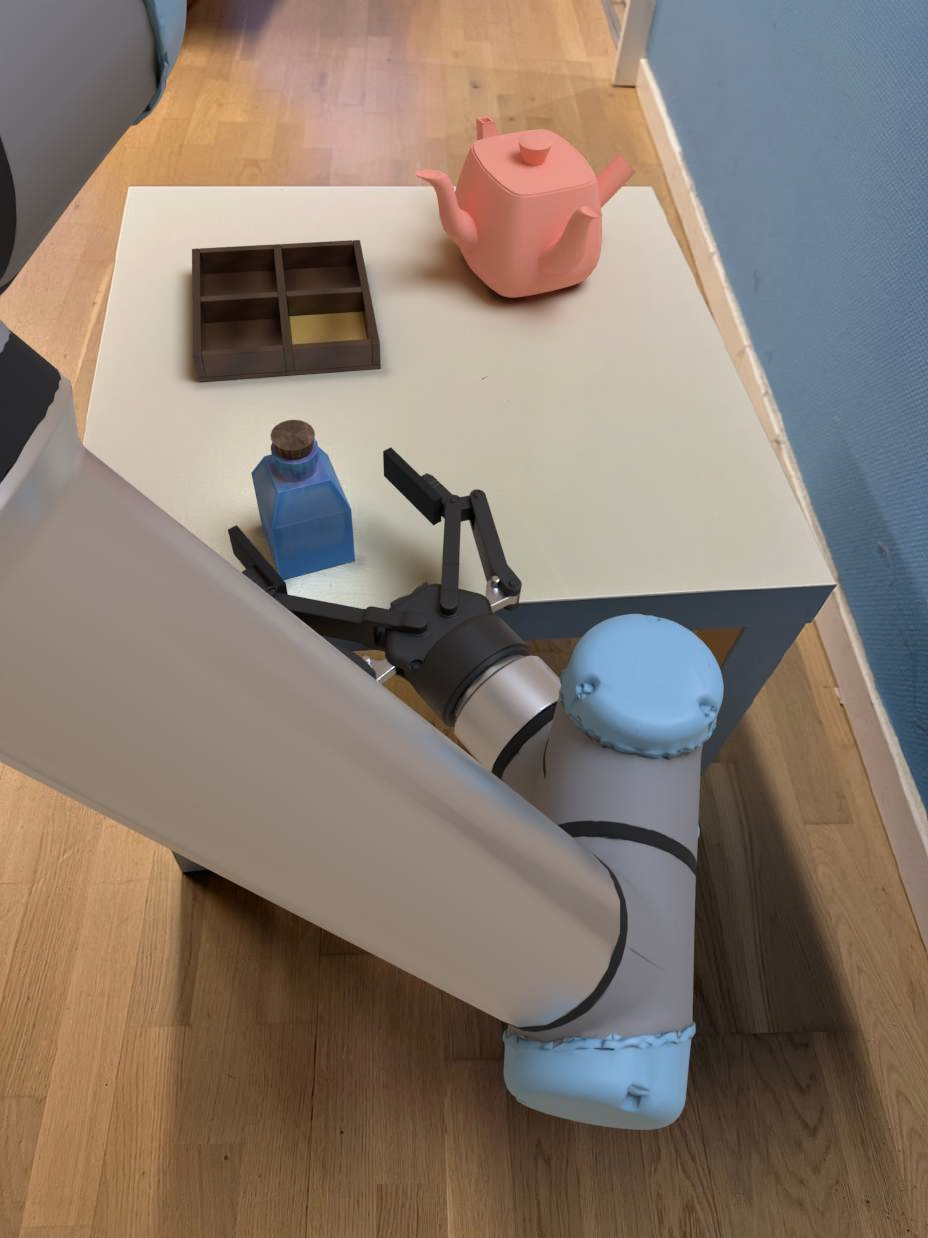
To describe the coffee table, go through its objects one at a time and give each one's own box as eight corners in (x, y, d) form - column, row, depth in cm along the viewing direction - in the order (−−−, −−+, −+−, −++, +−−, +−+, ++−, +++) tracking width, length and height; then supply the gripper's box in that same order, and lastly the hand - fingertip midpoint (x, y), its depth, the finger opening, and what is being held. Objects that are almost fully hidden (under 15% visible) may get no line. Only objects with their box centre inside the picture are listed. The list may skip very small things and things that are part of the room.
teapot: (578, 336, 92) (602, 208, 81) (412, 291, 95) (413, 161, 84) (622, 244, 102) (649, 119, 91) (471, 206, 105) (478, 80, 94)
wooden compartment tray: (198, 382, 85) (192, 356, 82) (197, 274, 95) (191, 248, 92) (380, 368, 87) (380, 343, 85) (361, 264, 97) (360, 239, 95)
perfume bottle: (355, 560, 73) (347, 453, 63) (281, 580, 72) (261, 474, 62) (333, 507, 76) (322, 398, 67) (261, 525, 75) (239, 415, 65)
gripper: (337, 824, 57) (175, 607, 66) (617, 631, 67) (442, 465, 76) (329, 772, 51) (151, 541, 60) (638, 568, 60) (445, 396, 70)
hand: (313, 498), depth 68 cm, fingers open, 13 cm apart
